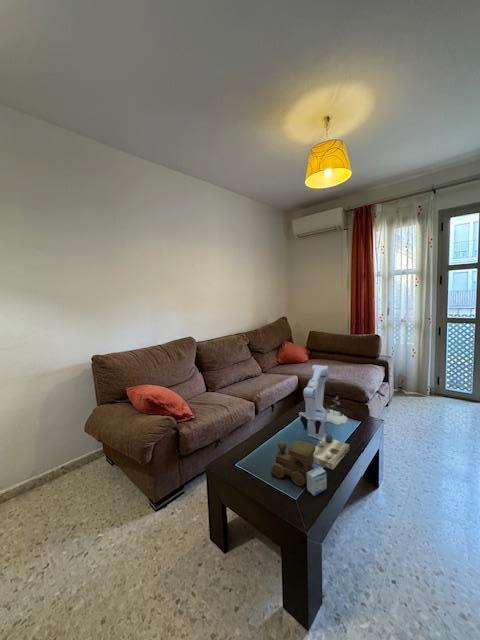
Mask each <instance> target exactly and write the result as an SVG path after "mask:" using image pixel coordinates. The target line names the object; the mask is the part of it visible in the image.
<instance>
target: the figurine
mask: <svg viewBox="0 0 480 640" xmlns="http://www.w3.org/2000/svg"><path fill="white" fill-rule="evenodd" d="M338 399H339V396H336V397H334V398H332V399H331V400H332V402H334V405H330V407H331V408H332V407H334V408H333V409H331V408H329V406H327V407H326V409H325V410H326V411H327V420H326V422H327V423H331V424H333V425H341V424H345V423H348V420H349V419H348V417H347V416H346V415H344V413H343V411H342V409H339V410H338V411H336V410H335V408H336V406H338V405H339V406H341V403H340V401H337V400H338ZM319 412H321V411H319Z"/></svg>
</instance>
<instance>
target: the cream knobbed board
mask: <svg viewBox="0 0 480 640" xmlns="http://www.w3.org/2000/svg"><path fill="white" fill-rule="evenodd" d="M321 441H323V442H324V445H323V446H322V447H320V446H319V445H318V443H317V444H316V445H315V452H314V453H313V463H315V464H318V465H320V466H322V467H324V468H327V469H330V470H332V471H333V470H334V469H335V468H336V467H337V466H338V464H339V463H340V462H341V460H343V458H344V457H345V456H346V455H347V453H349V451H350V443H349V444H348V443H346V442H343V441H340V440H337V439H334V438H333V440H332V441H331V442H327V441H326V439H325V437H324V438H323V439H322V440H321ZM327 451H329V452H330V453H331V457H330V458H327V457H326V455H325V453H326V452H327ZM345 454H346V455H345Z"/></svg>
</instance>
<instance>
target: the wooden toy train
mask: <svg viewBox="0 0 480 640" xmlns="http://www.w3.org/2000/svg"><path fill="white" fill-rule="evenodd" d="M315 446H316V445H315V444H313V443H311V442H308V441H304V440H302V439H301V440H300V439H296V440H294V441H293V442H292V443H291V444H290V446H289V447H288V444H287V443H286V442H285V441H284V440H279V442H277V448H278V449H279V450H278V451H277V453H276V454H275V461H274V462H273V464H272V465H270V468H271V472H272V473H273V475H274V476H275V477H276V478H279V479H283V478H284V477H285V476H288V477H290V479H291V480H292V482H293V483H294V484H295V485H296V486H298V487H303V486H304V485H306V484H307V472H309V471H311V470H313V469H315V468H314V467H313V465H314V462H313V453H314V452H315ZM287 447H288V450H286V449H287Z"/></svg>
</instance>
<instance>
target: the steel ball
mask: <svg viewBox="0 0 480 640" xmlns="http://www.w3.org/2000/svg"><path fill="white" fill-rule="evenodd" d="M317 444H318V445H319V446H320V447H322V446H323V445H324V442H323V441H321V440H318V441H317Z"/></svg>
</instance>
